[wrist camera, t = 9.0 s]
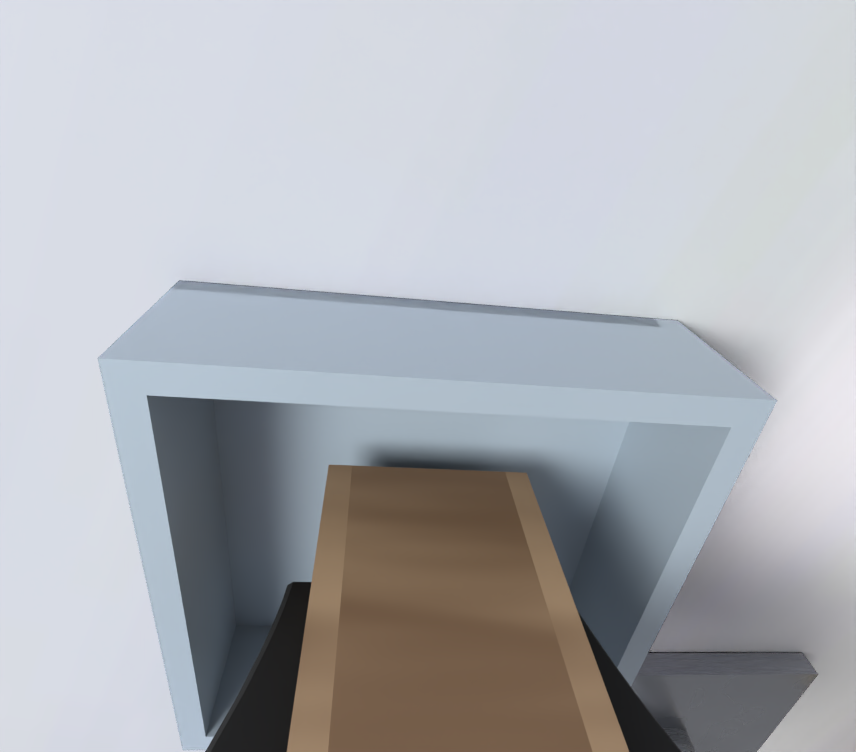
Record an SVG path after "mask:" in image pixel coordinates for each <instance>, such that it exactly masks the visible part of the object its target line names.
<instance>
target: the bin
mask: <svg viewBox="0 0 856 752" xmlns="http://www.w3.org/2000/svg"><path fill="white" fill-rule="evenodd" d="M98 362H99V367H100V371H101V376H102V381H103V385H104V390H105V394H106V399H107V404H108V408H109V413H110V417H111V422H112V427H113V431H114V436H115V440H116V445H117V450H118V454H119V459H120V464H121V468H122V473H123V477H124V482H125V487H126V491H127V496H128V500H129V505H130V510H131V514H132V519H133V523H134V528H135V533H136V537H137V542H138V546H139V551H140V556H141V560H142V565H143V569H144V574H145V579H146V583H147V588H148V592H149V597H150V602H151V606H152V611H153V615H154V620H155V625H156V629H157V634H158V638H159V643H160V648H161V652H162V657H163V661H164V666H165V671H166V675H167V680H168V684H169V689H170V694H171V698H172V703H173V707H174V712H175V717H176V721H177V726H178V730H179V735H180V740H181V744H182V749H183V750H206V749H207V748H208V746H209V744H210V743H211V741H212V739H213V737H214V736H215V734H216V732H217V730H218V729H219V727H220V725H221V724H222V722H223V720H224V718H225V717H226V715H227V713H228V711H229V710H230V708H231V706H232V704H233V703H234V701H235V699H236V697H237V695H238V693H239V692H240V690H241V688H242V686H243V684H244V682H245V680H246V678H247V676H248V674H249V672H250V670H251V668H252V666H253V664H254V662H255V660H256V659H257V657H258V655H259V653H260V651H261V648H262V646H263V644H264V642H265V640H266V638H267V636H268V633H269V631H270V629H271V627H272V624H273V622H274V620H275V617H276V615H277V613H278V610H279V607H280V605H281V602H282V600H283V597H284V594H285V591H286V587H287V585H289V584H290V583H292V582H312V575H313V569H314V562H315V555H316V548H317V541H318V534H319V527H320V521H321V514H322V507H323V500H324V493H325V486H326V480H327V473H328V466H329V465H353V466H377V467H401V468H425V469H450V470H474V471H498V472H522V473H527V475H528V478H529V480H530V483H531V486H532V489H533V491H534V494H535V497H536V499H537V502H538V505H539V508H540V510H541V513H542V516H543V519H544V521H545V524H546V527H547V529H548V532H549V535H550V538H551V540H552V543H553V546H554V548H555V551H556V554H557V557H558V559H559V562H560V565H561V567H562V570H563V573H564V576H565V578H566V581H567V584H568V587H569V589H570V592H571V595H572V597H573V600H574V603H575V606H576V608H577V610H578V612H579V613H580V615H581V616H582V618H583V619H584V621H585V622H586V624H587V625H588V627H589V628H590V630H591V631H592V633H593V634H594V636H595V637H596V638H597V640H598V641H599V643H600V644H601V646H602V647H603V649H604V650H605V651H606V653H607V654H608V656H609V657H610V658H611V660H612V661H613V663H614V664H615V666H616V667H617V668H618V670H619V671H620V672H621V674H622V675H623V676H624V678H625V679H626V681H627V682H628V683H629V685H630V686H631V685H632V683H633V681H634V679H635V677H636V675H637V674H638V672H639V670H640V668H641V666H642V664H643V662H644V660H645V658H646V656H647V654H648V652H649V650H650V648H651V646H652V644H653V642H654V640H655V638H656V636H657V634H658V632H659V631H660V629H661V627H662V625H663V623H664V621H665V619H666V617H667V615H668V613H669V611H670V609H671V607H672V605H673V603H674V601H675V599H676V597H677V595H678V593H679V591H680V589H681V588H682V586H683V584H684V582H685V580H686V578H687V576H688V574H689V572H690V570H691V568H692V566H693V564H694V562H695V560H696V558H697V556H698V554H699V552H700V550H701V548H702V546H703V545H704V543H705V541H706V539H707V537H708V535H709V533H710V531H711V529H712V527H713V525H714V523H715V521H716V519H717V517H718V515H719V513H720V511H721V509H722V507H723V505H724V503H725V501H726V500H727V498H728V496H729V494H730V492H731V490H732V488H733V486H734V484H735V482H736V480H737V478H738V476H739V474H740V472H741V470H742V468H743V466H744V464H745V462H746V460H747V458H748V457H749V455H750V453H751V451H752V449H753V447H754V445H755V443H756V441H757V439H758V437H759V435H760V433H761V431H762V429H763V427H764V425H765V423H766V421H767V419H768V417H769V415H770V414H771V412H772V410H773V408H774V406H775V404H776V402H777V400H776V399H775V398H773V397H772V396H771V395H770V394H768V393H767V392H766V391H765V390H763V389H762V388H761V387H760V386H758V385H757V384H756V383H755V382H753V381H752V380H751V379H750V378H748V377H747V376H746V375H745V374H744V373H742V372H741V371H740V370H739V369H737V368H736V367H735V366H734V365H732V364H731V363H730V362H729V361H727V360H726V359H725V358H724V357H722V356H721V355H720V354H719V353H717V352H716V351H715V350H714V349H712V348H711V347H710V346H709V345H707V344H706V343H705V342H704V341H702V340H701V339H700V338H699V337H697V336H696V335H695V334H694V333H692V332H691V331H690V330H689V329H688V328H686V327H685V326H684V325H683V324H681V323H680V322H679V321H678V320H665V319H653V318H640V317H628V316H615V315H603V314H590V313H578V312H565V311H553V310H540V309H528V308H516V307H503V306H491V305H478V304H466V303H453V302H441V301H428V300H416V299H403V298H391V297H378V296H366V295H353V294H341V293H328V292H316V291H303V290H291V289H278V288H266V287H254V286H241V285H229V284H216V283H204V282H191V281H178V282H177V283H176V284H175V285H174V286H173V287H172V288H171V289H170V290H169V291H168V292H167V293H166V294H165V295H163V296H162V297H161V298H160V299H159V300H158V301H157V302H156V303H155V304H154V305H153V306H152V307H151V308H150V309H149V310H148V311H147V312H146V313H145V314H144V315H143V316H141V317H140V318H139V319H138V320H137V321H136V322H135V323H134V324H133V325H132V326H131V327H130V328H129V329H128V330H127V331H126V332H125V333H124V334H123V335H122V336H121V337H119V338H118V339H117V340H116V341H115V342H114V343H113V344H112V345H111V346H110V347H109V348H108V349H107V350H106V351H105V352H104V353H103V354H102V355H101V356H100V357H98Z"/></svg>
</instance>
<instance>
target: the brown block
mask: <svg viewBox="0 0 856 752" xmlns="http://www.w3.org/2000/svg"><path fill="white" fill-rule="evenodd" d="M287 752H629V750H628V747H627V744H626V742H625V739H624V736H623V733H622V731H621V728H620V725H619V723H618V720H617V717H616V714H615V712H614V709H613V706H612V704H611V701H610V698H609V695H608V693H607V690H606V687H605V684H604V682H603V679H602V676H601V674H600V671H599V668H598V665H597V663H596V660H595V657H594V655H593V652H592V649H591V646H590V644H589V641H588V638H587V636H586V633H585V630H584V627H583V625H582V622H581V619H580V616H579V614H578V611H577V608H576V606H575V603H574V600H573V597H572V595H571V592H570V589H569V587H568V584H567V581H566V578H565V576H564V573H563V570H562V567H561V565H560V562H559V559H558V557H557V554H556V551H555V548H554V546H553V543H552V540H551V538H550V535H549V532H548V529H547V527H546V524H545V521H544V519H543V516H542V513H541V510H540V508H539V505H538V502H537V499H536V497H535V494H534V491H533V489H532V486H531V483H530V480H529V478H528V475H527V473H522V472H498V471H474V470H450V469H425V468H401V467H377V466H353V465H329V466H328V473H327V480H326V486H325V493H324V500H323V507H322V514H321V521H320V527H319V534H318V541H317V548H316V555H315V562H314V569H313V575H312V582H311V589H310V596H309V603H308V610H307V616H306V623H305V630H304V637H303V644H302V651H301V658H300V664H299V671H298V678H297V685H296V692H295V699H294V705H293V712H292V719H291V726H290V733H289V740H288V747H287Z"/></svg>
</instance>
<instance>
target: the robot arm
mask: <svg viewBox="0 0 856 752" xmlns="http://www.w3.org/2000/svg"><path fill="white" fill-rule="evenodd" d="M310 589H311V582H292V583H290V584H289V585H287V587H286V591H285V594H284V597H283V600H282V602H281V605H280V607H279V610H278V613H277V615H276V617H275V620H274V622H273V624H272V627H271V629H270V631H269V633H268V636H267V638H266V640H265V642H264V644H263V646H262V648H261V651H260V653H259V655H258V657H257V659H256V660H255V662H254V664H253V666H252V668H251V670H250V672H249V674H248V676H247V678H246V680H245V682H244V684H243V686H242V688H241V690H240V692H239V693H238V695H237V697H236V699H235V701H234V703H233V704H232V706H231V708H230V710H229V711H228V713H227V715H226V717H225V718H224V720H223V722H222V724H221V725H220V727H219V729H218V730H217V732H216V734H215V736H214V737H213V739H212V741H211V743H210V744H209V746H208V748H207V749H206V751H205V752H287V747H288V740H289V733H290V726H291V719H292V712H293V705H294V699H295V692H296V685H297V678H298V671H299V664H300V658H301V651H302V644H303V637H304V630H305V623H306V616H307V610H308V603H309V596H310ZM577 611H578V610H577ZM578 614H579V616H580V619H581V622H582V625H583V627H584V630H585V633H586V636H587V638H588V641H589V644H590V646H591V649H592V652H593V655H594V657H595V660H596V663H597V665H598V668H599V671H600V674H601V676H602V679H603V682H604V684H605V687H606V690H607V693H608V695H609V698H610V701H611V704H612V706H613V709H614V712H615V714H616V717H617V720H618V723H619V725H620V728H621V731H622V733H623V736H624V739H625V742H626V744H627V747H628V750H629V752H682V751H681V750H680V749H679V748H678V746H677V745H676V744H675V743H674V742H673V740H672V739H671V738H670V737H669V735H668V734H667V733H666V732H665V730H664V729H663V728H662V727H661V725H660V724H659V723H658V722H657V720H656V719H655V718H654V716H653V715H652V714H651V713H650V711H649V710H648V709H647V707H646V706H645V705H644V703H643V702H642V701H641V699H640V698H639V697H638V695H637V694H636V693H635V691H634V690H633V689H632V687H631V686H630V685H629V683H628V682H627V681H626V679H625V678H624V676H623V675H622V674H621V672H620V671H619V670H618V668H617V667H616V666H615V664H614V663H613V661H612V660H611V658H610V657H609V656H608V654H607V653H606V651H605V650H604V649H603V647H602V646H601V644H600V643H599V641H598V640H597V638H596V637H595V636H594V634H593V633H592V631H591V630H590V628H589V627H588V625H587V624H586V622H585V621H584V619H583V618H582V616H581V615H580V613H579V612H578Z"/></svg>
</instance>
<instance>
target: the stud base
mask: <svg viewBox="0 0 856 752" xmlns="http://www.w3.org/2000/svg"><path fill="white" fill-rule="evenodd" d="M817 675H818V673H817V672H816V671H815V669H814V668H813V666H812V665H811V664H810V662H809V661H808V660H807V658H806V657H805V656H804V654H803V653H648V654H647V656H646V658H645V660H644V662H643V664H642V666H641V668H640V670H639V672H638V674H637V675H636V677H635V679H634V681H633V683H632V685H631V687H632V689H633V690H634V691H635V693H636V694H637V695H638V697H639V698H640V699H641V701H642V702H643V703H644V705H645V706H646V707H647V709H648V710H649V711H650V713H651V714H652V715H653V716H654V718H655V719H656V720H657V722H658V723H659V724H660V725H661V727H662V728H663V729H664V730H665V732H666V733H667V734H668V735H669V737H670V738H671V739H672V740H673V742H674V743H675V744H676V745H677V746H678V748H679V749H680V750H681V751H682V752H757V751H758V750H759V748H760V747H761V746H762V745H763V743H764V742H765V741H766V740H767V738H768V737H769V736H770V735H771V733H772V732H773V731H774V730H775V728H776V727H777V726H778V724H779V723H780V722H781V721H782V719H783V718H784V717H785V716H786V714H787V713H788V712H789V711H790V709H791V708H792V707H793V706H794V704H795V703H796V702H797V700H798V699H799V698H800V697H801V695H802V694H803V693H804V692H805V690H806V689H807V688H808V687H809V685H810V684H811V683H812V682H813V680H814V679H815V678H816V676H817Z"/></svg>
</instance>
